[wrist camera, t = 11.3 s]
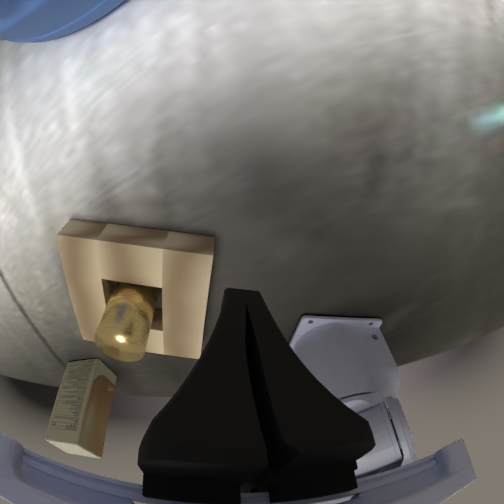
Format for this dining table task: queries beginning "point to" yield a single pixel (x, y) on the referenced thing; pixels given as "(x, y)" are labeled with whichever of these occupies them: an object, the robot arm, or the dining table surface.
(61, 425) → the skincare box
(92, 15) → the water jug
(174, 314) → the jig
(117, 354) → the amber rounded cylinder
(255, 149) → the dining table surface
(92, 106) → the dining table surface
